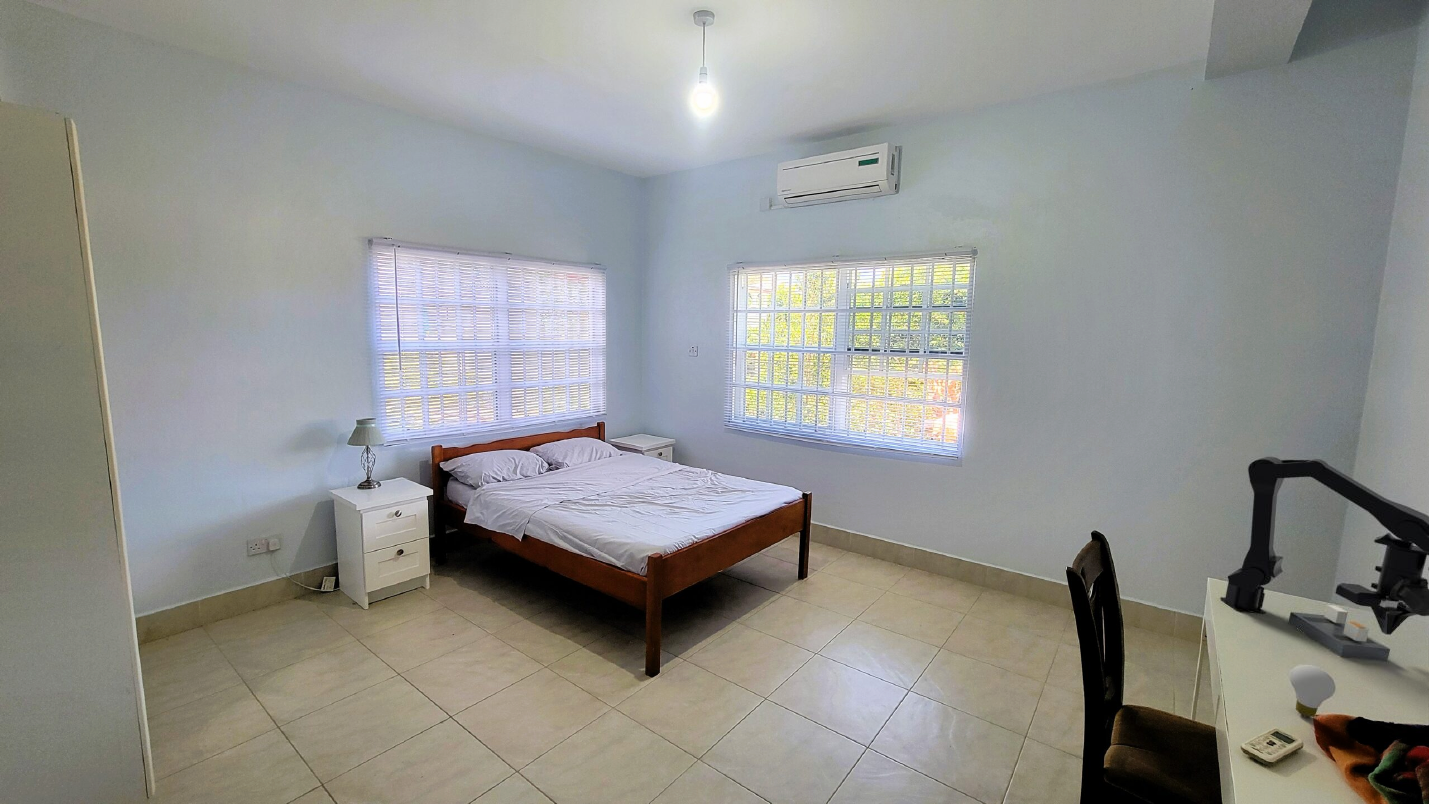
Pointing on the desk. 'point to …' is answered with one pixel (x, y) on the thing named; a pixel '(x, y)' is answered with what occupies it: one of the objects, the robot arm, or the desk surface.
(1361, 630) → the handle
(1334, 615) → the handle
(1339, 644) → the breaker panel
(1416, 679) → the desk surface
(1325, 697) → the light bulb
